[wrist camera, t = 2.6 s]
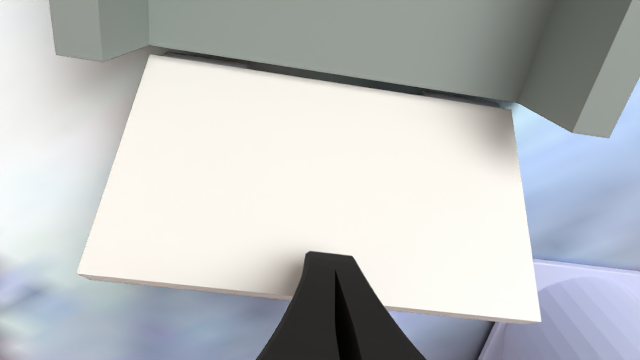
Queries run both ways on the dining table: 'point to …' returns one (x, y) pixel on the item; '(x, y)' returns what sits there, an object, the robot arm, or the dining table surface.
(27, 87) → the dining table surface
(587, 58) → the cart bed
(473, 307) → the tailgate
